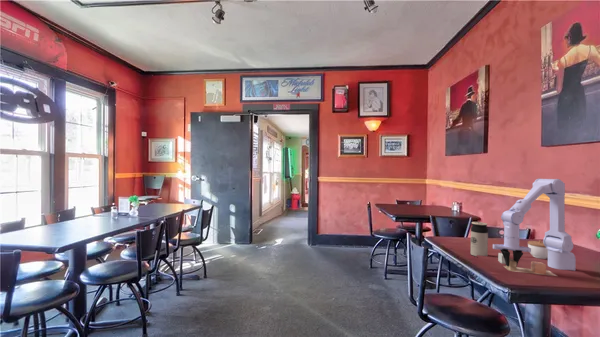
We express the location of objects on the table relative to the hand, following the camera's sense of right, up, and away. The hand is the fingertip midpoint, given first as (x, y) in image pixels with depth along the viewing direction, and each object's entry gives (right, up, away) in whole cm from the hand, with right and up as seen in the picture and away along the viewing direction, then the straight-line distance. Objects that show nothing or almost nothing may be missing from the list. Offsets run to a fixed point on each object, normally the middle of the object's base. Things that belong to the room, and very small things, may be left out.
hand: (511, 266), depth 133 cm
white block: (+10, -3, +8) cm, 13 cm away
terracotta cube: (+10, -2, -3) cm, 11 cm away
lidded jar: (+34, -4, +25) cm, 42 cm away
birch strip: (+7, -3, -2) cm, 7 cm away
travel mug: (+1, -3, +25) cm, 25 cm away
